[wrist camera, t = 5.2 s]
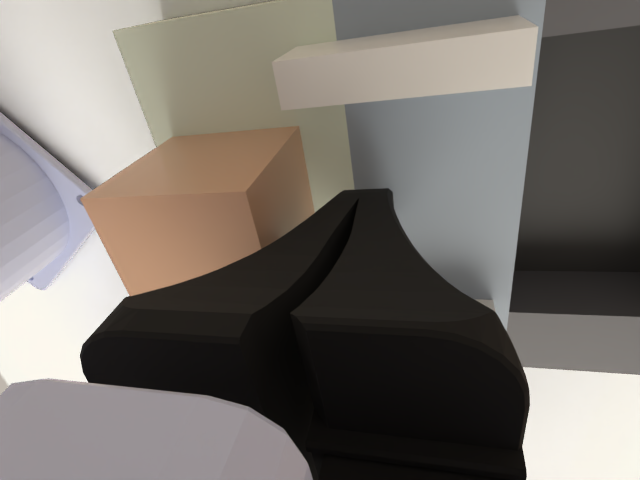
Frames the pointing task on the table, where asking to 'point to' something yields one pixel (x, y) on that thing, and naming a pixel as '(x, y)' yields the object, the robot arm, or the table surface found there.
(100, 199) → the terracotta block
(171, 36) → the pad
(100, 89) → the table surface
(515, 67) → the channel walls
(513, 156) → the gray recessed tray
